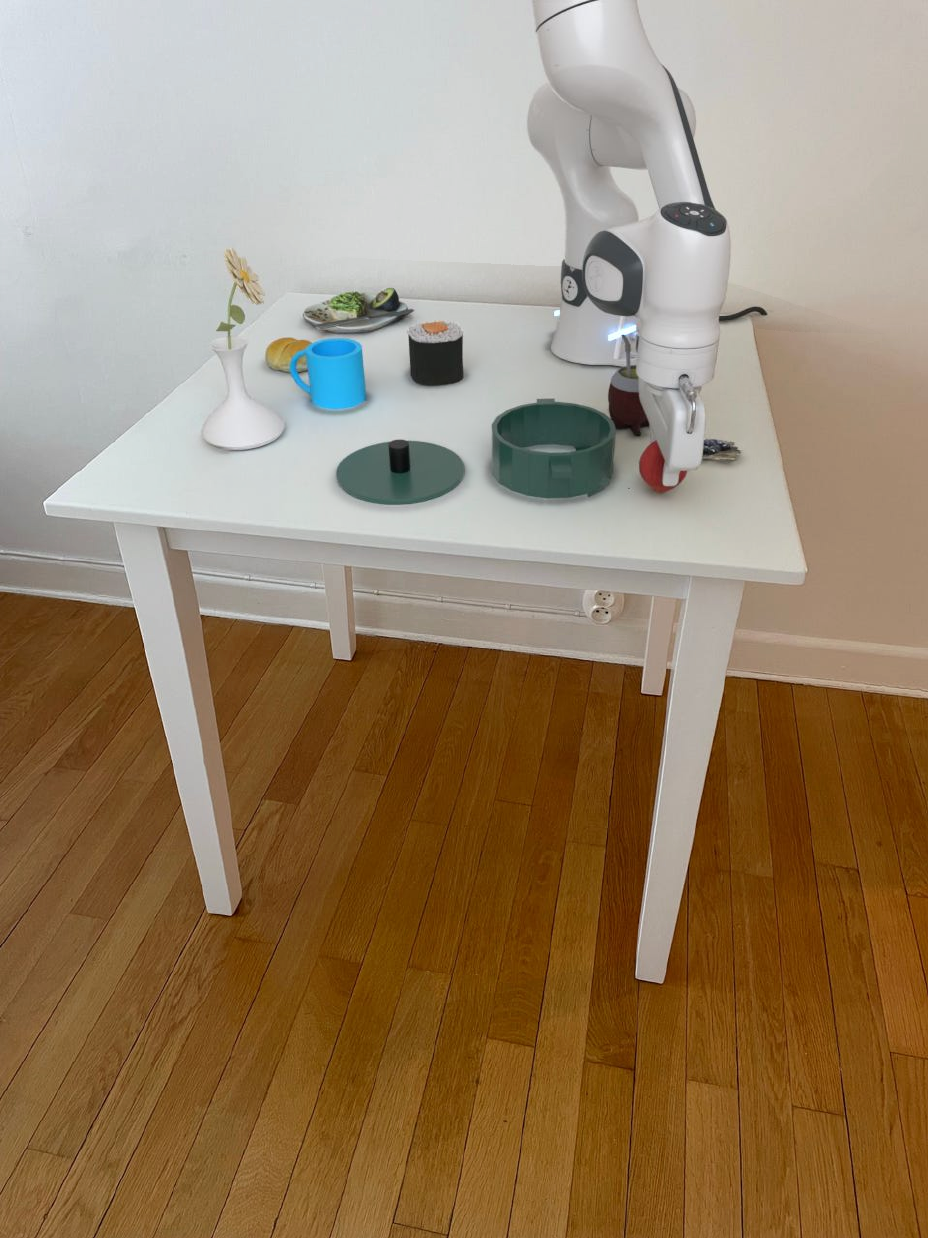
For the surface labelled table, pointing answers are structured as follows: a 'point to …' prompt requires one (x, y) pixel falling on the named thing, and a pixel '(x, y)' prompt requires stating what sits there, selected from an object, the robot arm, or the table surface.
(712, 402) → the table surface
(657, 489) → the onion
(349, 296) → the salad plate
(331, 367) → the mug
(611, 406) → the mate gourd
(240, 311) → the flower in vase
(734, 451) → the blueberries
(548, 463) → the pot
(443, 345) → the sushi
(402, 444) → the lid
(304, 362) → the bread roll
